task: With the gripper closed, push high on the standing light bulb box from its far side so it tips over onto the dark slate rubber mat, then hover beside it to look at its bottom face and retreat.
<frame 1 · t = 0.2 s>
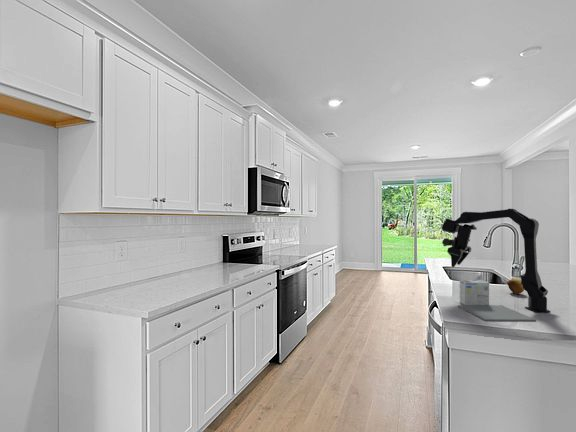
hand: (455, 265, 168), 15 cm above the counter, tool pointing down, fingers open, 9 cm apart
fruit: (515, 294, 173), on the counter
light bulb box: (473, 304, 152), on the counter
slate mat: (494, 313, 138), on the counter
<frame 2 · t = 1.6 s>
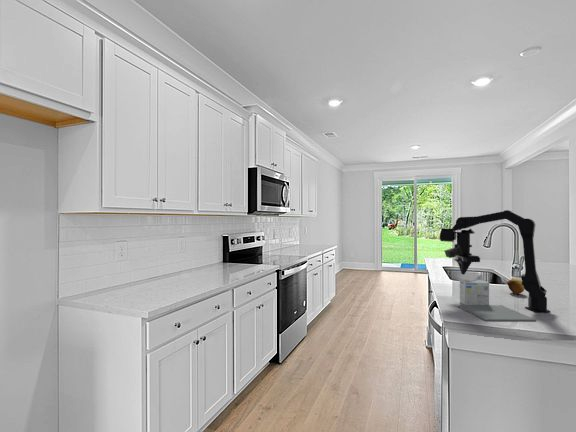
hand: (463, 274, 162), 12 cm above the counter, tool pointing down, fingers closed
nothing on the counter moved.
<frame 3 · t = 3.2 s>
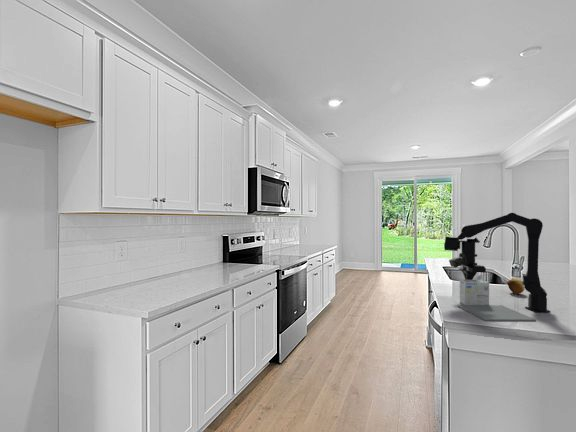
hand: (468, 284, 157), 8 cm above the counter, tool pointing down, fingers closed
light bulb box: (473, 304, 152), on the counter, touching gripper
everything else where it was.
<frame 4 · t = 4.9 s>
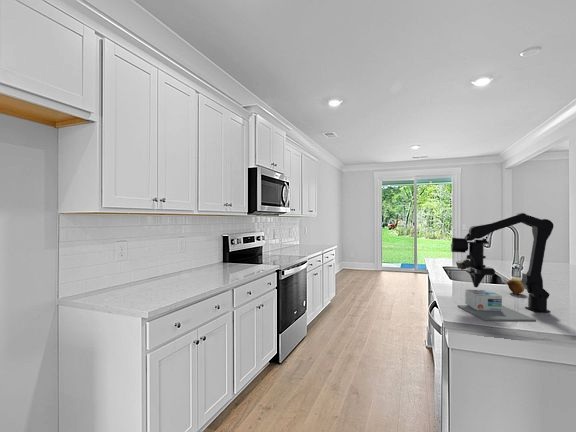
hand: (475, 287, 151), 8 cm above the counter, tool pointing down, fingers closed
light bulb box: (476, 297, 150), point 4 cm above the counter, touching slate mat
everything else where it was.
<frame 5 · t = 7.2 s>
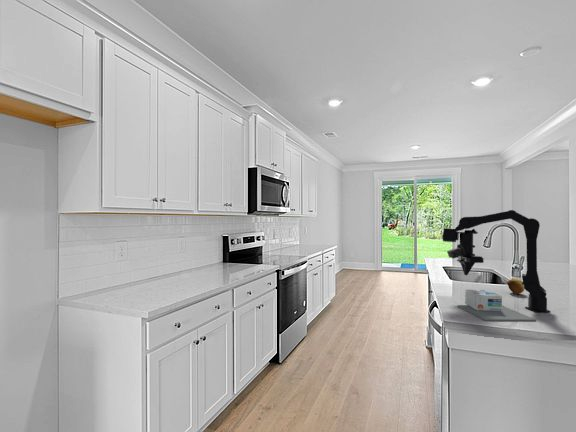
hand: (465, 275, 159), 12 cm above the counter, tool pointing down, fingers closed
nothing on the counter moved.
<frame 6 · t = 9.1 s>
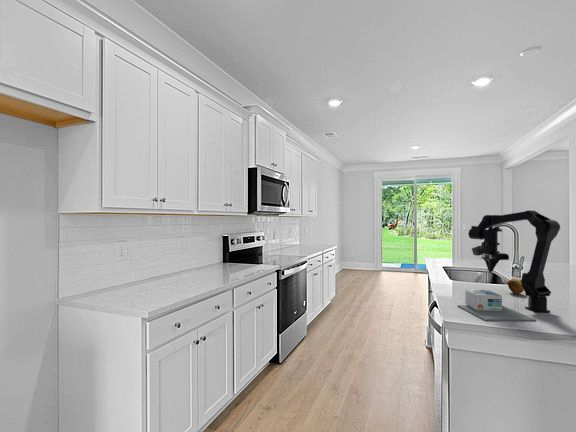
hand: (490, 272, 163), 13 cm above the counter, tool pointing down, fingers closed
nothing on the counter moved.
at the end: light bulb box tilted 89°; light bulb box touching slate mat; the gripper is holding nothing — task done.
